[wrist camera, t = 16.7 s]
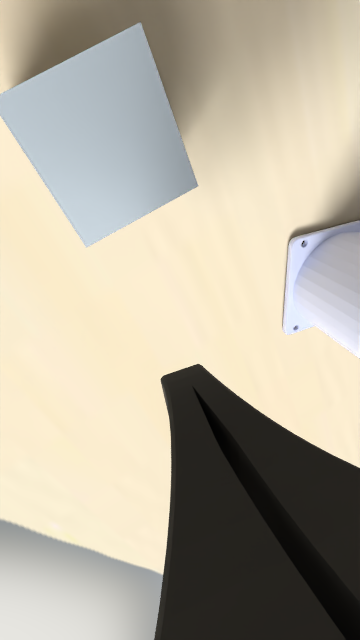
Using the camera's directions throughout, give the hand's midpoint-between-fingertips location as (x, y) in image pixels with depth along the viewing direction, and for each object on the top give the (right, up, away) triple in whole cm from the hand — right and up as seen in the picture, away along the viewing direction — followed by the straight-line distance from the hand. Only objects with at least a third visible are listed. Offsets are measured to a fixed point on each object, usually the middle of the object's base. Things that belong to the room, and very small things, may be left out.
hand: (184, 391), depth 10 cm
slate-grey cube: (-4, +11, +4) cm, 12 cm away
